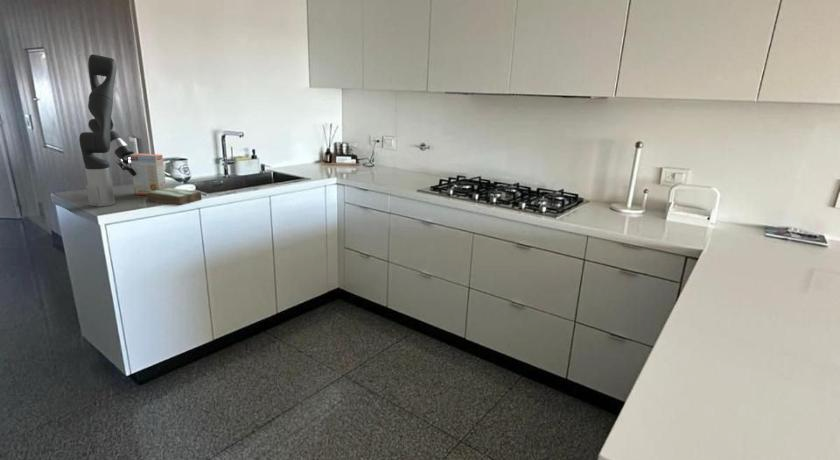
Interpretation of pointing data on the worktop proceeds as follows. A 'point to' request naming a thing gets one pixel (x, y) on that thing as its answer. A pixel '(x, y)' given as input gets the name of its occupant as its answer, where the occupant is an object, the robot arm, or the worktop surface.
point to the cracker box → (147, 173)
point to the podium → (173, 196)
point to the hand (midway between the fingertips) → (141, 173)
